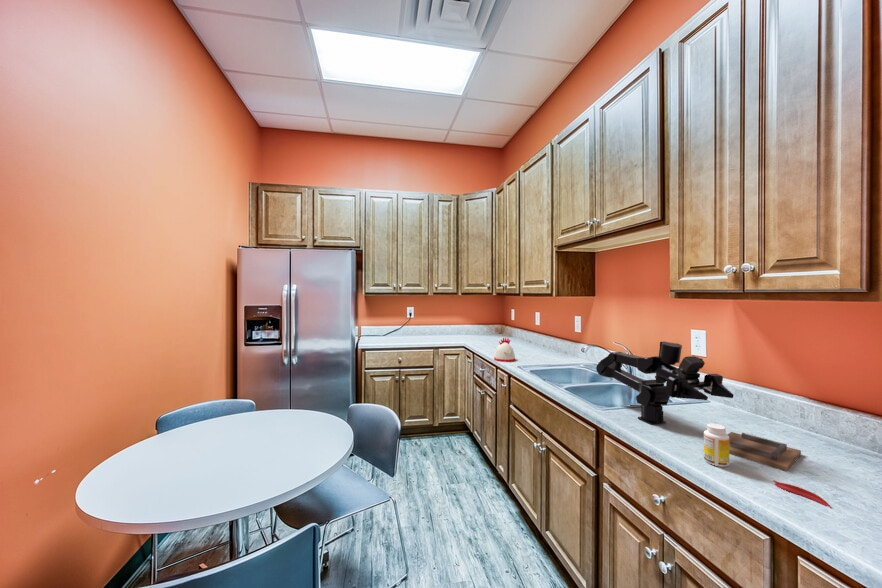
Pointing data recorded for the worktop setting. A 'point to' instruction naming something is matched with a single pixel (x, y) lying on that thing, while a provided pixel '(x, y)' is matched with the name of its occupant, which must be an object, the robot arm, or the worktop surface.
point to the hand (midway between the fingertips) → (720, 397)
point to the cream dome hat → (504, 352)
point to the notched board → (762, 450)
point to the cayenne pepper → (801, 492)
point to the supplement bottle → (716, 445)
